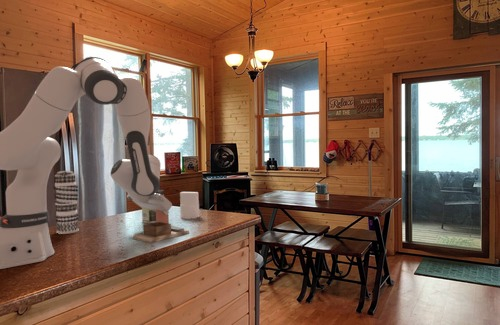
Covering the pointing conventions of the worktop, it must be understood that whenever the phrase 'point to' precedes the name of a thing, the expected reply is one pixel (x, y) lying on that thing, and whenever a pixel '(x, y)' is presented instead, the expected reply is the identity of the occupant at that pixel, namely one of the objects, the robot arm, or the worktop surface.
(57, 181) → the decorative candle
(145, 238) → the jig
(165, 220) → the red rectangular block
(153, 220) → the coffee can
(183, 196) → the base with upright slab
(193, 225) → the worktop surface
